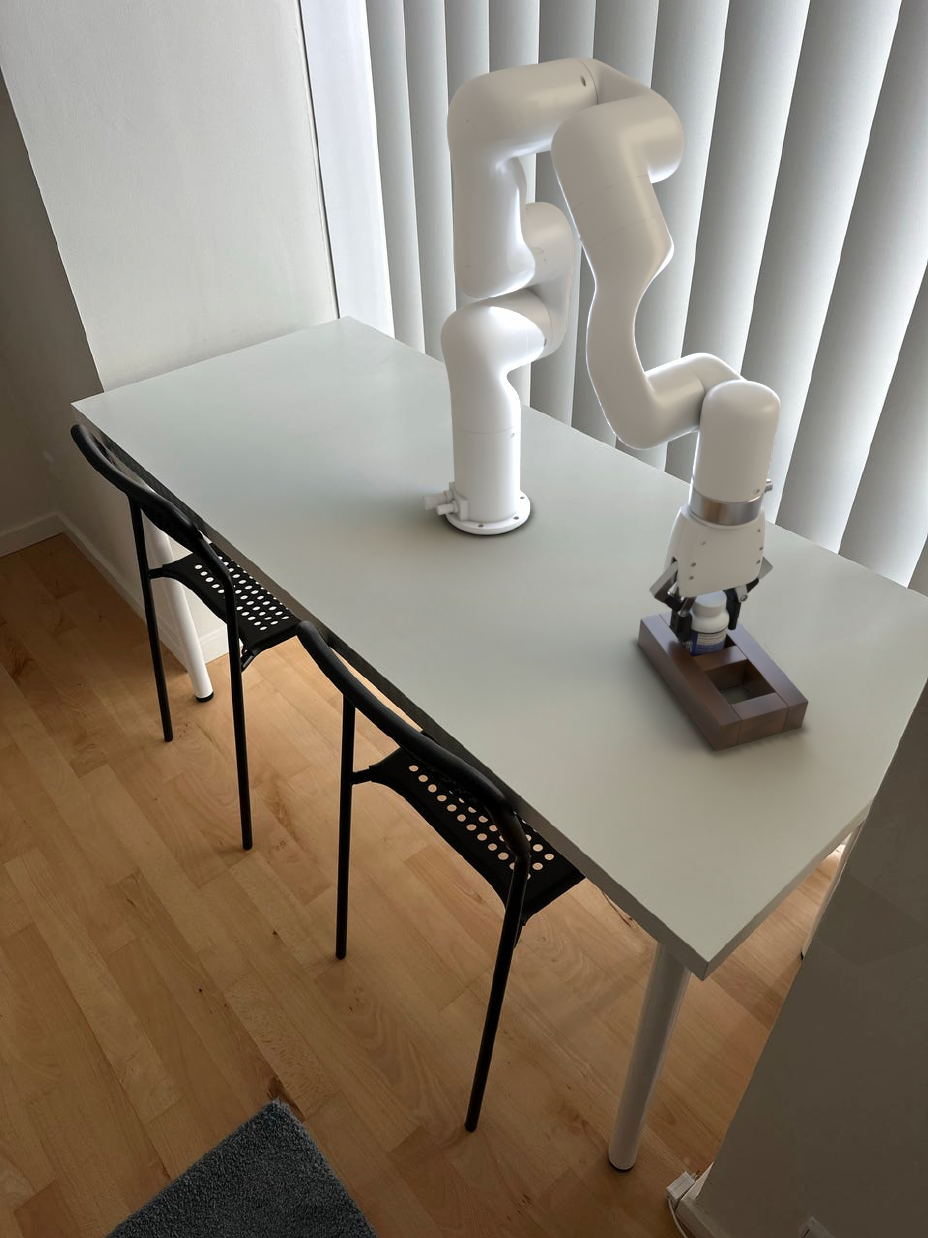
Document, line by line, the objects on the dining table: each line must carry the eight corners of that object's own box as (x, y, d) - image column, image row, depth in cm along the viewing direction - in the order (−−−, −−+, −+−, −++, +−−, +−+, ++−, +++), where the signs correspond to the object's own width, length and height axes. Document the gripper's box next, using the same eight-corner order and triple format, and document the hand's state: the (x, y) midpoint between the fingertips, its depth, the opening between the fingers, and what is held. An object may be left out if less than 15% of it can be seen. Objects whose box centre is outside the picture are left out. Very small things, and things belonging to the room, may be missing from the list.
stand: (715, 751, 104) (721, 726, 101) (637, 643, 118) (640, 618, 115) (801, 727, 106) (809, 701, 103) (714, 623, 120) (719, 599, 117)
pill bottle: (670, 645, 117) (679, 583, 110) (713, 642, 117) (724, 579, 111) (681, 675, 112) (692, 612, 106) (726, 672, 113) (739, 608, 106)
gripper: (776, 466, 105) (749, 594, 116) (635, 496, 101) (622, 626, 113) (816, 500, 99) (784, 632, 111) (669, 534, 95) (651, 666, 107)
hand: (703, 627), depth 112 cm, fingers closed on pill bottle, 5 cm apart
